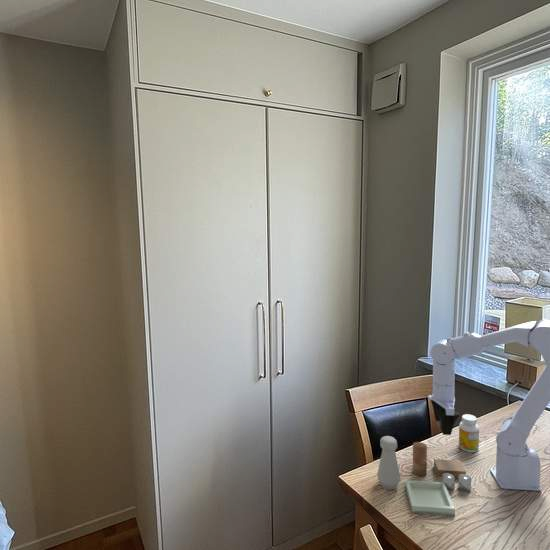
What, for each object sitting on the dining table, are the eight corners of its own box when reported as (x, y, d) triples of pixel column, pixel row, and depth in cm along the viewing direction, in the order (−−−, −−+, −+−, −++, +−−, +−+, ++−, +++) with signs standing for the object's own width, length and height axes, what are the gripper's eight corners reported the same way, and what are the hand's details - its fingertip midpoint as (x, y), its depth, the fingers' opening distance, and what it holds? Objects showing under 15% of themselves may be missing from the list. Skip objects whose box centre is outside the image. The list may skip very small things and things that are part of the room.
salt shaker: (401, 493, 101) (401, 445, 100) (378, 491, 103) (377, 444, 101) (398, 479, 107) (398, 433, 105) (376, 477, 108) (376, 432, 107)
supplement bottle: (455, 442, 123) (456, 413, 122) (473, 442, 123) (474, 412, 122) (463, 452, 118) (464, 421, 117) (481, 452, 118) (482, 421, 116)
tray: (443, 488, 102) (444, 482, 102) (454, 515, 93) (455, 508, 93) (405, 486, 104) (405, 480, 104) (412, 512, 95) (412, 505, 94)
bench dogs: (468, 484, 104) (469, 474, 103) (472, 492, 101) (472, 481, 100) (440, 483, 105) (440, 472, 104) (443, 490, 102) (443, 480, 101)
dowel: (425, 469, 111) (425, 442, 110) (427, 477, 107) (428, 449, 106) (411, 468, 111) (411, 441, 110) (414, 476, 108) (414, 449, 107)
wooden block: (460, 468, 111) (460, 460, 111) (465, 480, 106) (465, 471, 106) (433, 467, 112) (433, 459, 112) (438, 478, 107) (438, 469, 107)
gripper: (423, 372, 121) (422, 414, 122) (435, 392, 106) (434, 440, 108) (447, 372, 120) (447, 415, 121) (463, 393, 105) (462, 441, 107)
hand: (442, 427), depth 115 cm, fingers open, 7 cm apart
